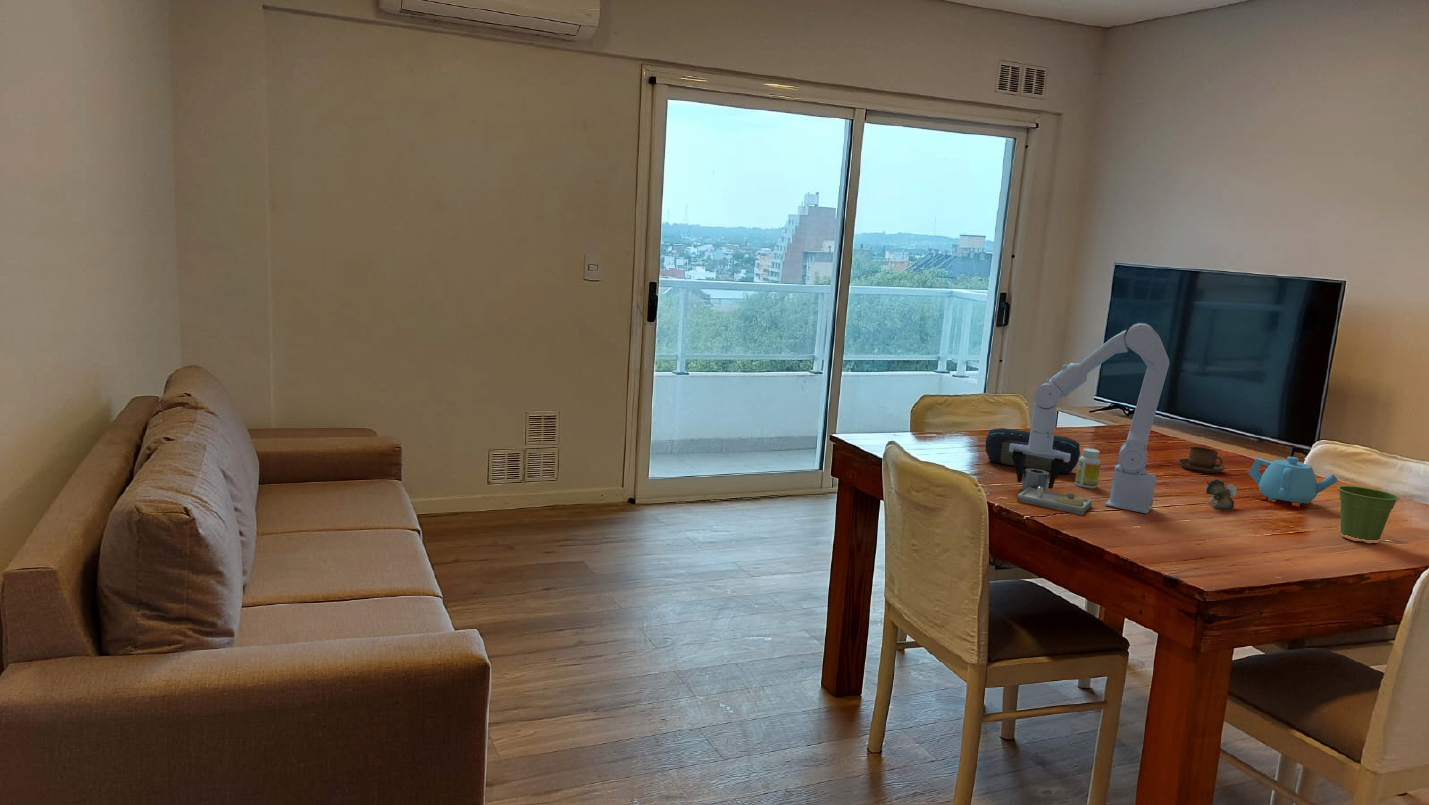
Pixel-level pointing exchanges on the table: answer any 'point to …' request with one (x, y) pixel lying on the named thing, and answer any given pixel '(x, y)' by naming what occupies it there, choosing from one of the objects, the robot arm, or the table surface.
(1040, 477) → the grey hexagonal nut
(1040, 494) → the carrier pin
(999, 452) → the portable speaker
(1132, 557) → the table surface
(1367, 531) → the plant pot
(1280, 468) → the teapot
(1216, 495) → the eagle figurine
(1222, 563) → the table surface
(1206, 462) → the cup and saucer
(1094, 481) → the supplement bottle
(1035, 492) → the carrier board
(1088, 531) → the table surface
